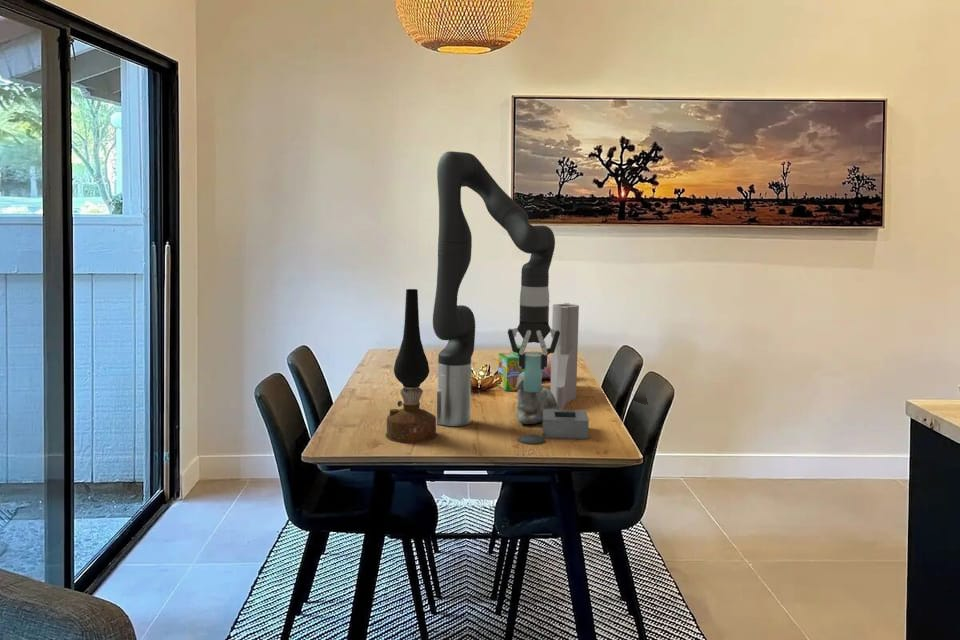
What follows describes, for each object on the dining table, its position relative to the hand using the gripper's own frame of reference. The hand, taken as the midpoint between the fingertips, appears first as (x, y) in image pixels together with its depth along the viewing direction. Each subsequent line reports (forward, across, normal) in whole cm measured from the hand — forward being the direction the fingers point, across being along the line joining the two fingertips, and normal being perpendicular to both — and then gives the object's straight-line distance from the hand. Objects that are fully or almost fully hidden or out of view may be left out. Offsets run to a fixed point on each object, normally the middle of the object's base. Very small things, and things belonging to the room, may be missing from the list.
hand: (533, 368), depth 221 cm
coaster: (+19, 0, 0) cm, 19 cm away
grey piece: (+20, +10, +52) cm, 57 cm away
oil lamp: (+20, -32, +1) cm, 37 cm away
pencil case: (+20, +2, +79) cm, 81 cm away
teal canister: (+6, 0, 0) cm, 6 cm away
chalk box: (+20, -6, +64) cm, 67 cm away
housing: (+19, +9, +9) cm, 23 cm away
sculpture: (+20, +2, +24) cm, 31 cm away
